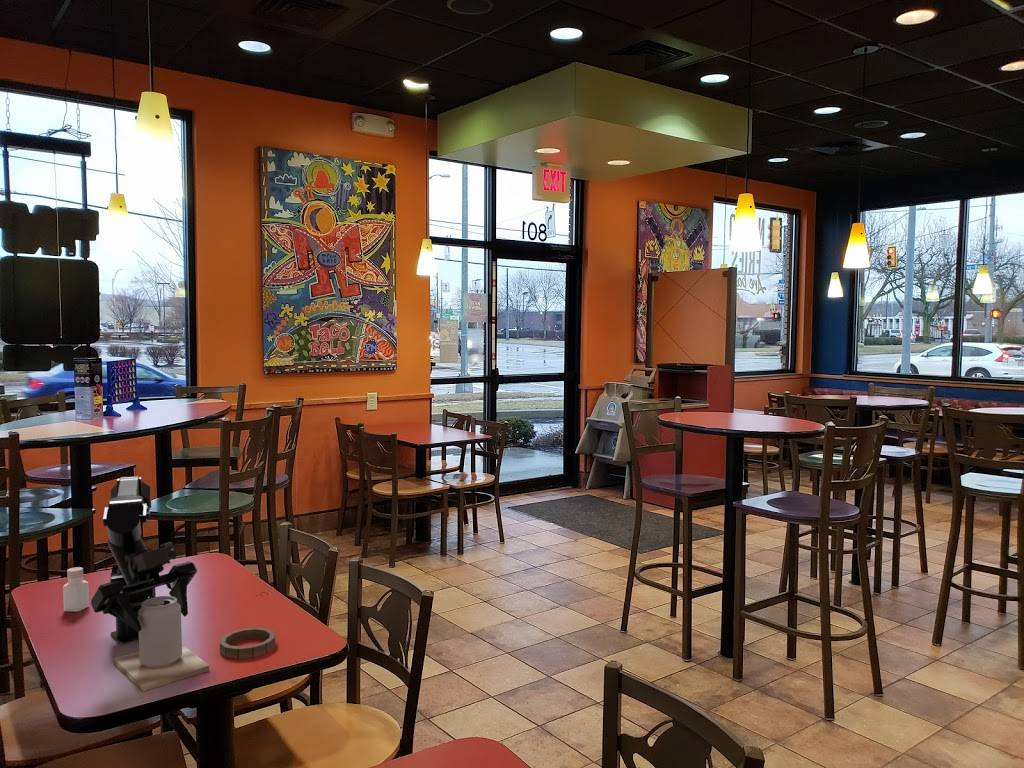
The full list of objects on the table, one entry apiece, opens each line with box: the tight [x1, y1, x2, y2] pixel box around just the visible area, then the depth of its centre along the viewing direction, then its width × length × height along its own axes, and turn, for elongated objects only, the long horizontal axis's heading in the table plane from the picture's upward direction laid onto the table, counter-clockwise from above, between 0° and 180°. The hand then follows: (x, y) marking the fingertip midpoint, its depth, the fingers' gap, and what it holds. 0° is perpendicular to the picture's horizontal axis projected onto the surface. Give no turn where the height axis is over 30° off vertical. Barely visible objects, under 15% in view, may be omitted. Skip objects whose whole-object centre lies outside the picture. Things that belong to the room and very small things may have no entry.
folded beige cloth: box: [113, 644, 210, 692], centre depth 144 cm, size 16×12×1 cm
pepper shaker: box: [62, 566, 90, 613], centre depth 174 cm, size 4×4×10 cm
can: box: [138, 595, 183, 668], centre depth 144 cm, size 8×8×12 cm
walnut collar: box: [219, 627, 276, 660], centre depth 153 cm, size 10×10×2 cm
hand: (163, 622), depth 143 cm, fingers open, 9 cm apart
